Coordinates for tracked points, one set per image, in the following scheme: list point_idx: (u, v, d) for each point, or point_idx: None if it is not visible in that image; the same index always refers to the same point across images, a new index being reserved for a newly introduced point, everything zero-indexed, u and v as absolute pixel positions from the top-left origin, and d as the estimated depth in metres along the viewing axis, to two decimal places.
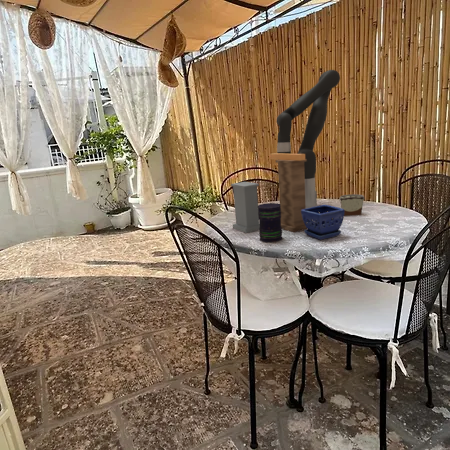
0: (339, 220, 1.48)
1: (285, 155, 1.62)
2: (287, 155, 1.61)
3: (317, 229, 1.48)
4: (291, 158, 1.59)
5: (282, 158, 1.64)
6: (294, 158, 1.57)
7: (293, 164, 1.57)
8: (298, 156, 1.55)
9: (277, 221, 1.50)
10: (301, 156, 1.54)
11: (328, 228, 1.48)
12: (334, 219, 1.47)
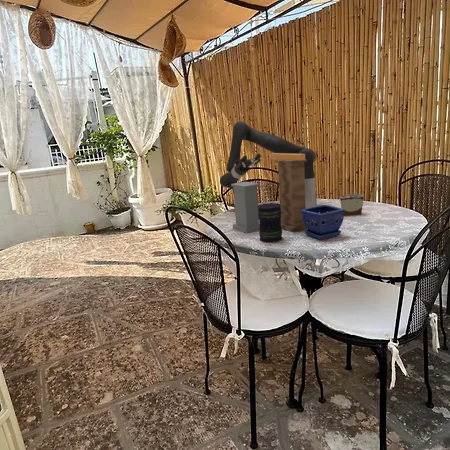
0: (339, 220, 1.48)
1: (285, 155, 1.62)
2: (287, 155, 1.61)
3: (317, 229, 1.48)
4: (291, 158, 1.59)
5: (282, 158, 1.64)
6: (294, 158, 1.57)
7: (293, 164, 1.57)
8: (298, 156, 1.55)
9: (277, 221, 1.50)
10: (301, 156, 1.54)
11: (328, 228, 1.48)
12: (334, 219, 1.47)
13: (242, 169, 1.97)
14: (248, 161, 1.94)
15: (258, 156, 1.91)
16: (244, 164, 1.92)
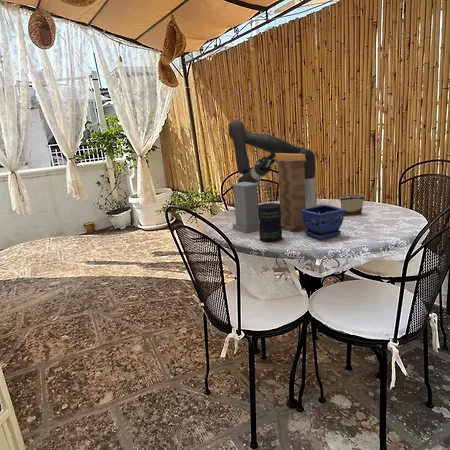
0: (339, 220, 1.48)
1: (285, 155, 1.62)
2: (287, 155, 1.61)
3: (317, 229, 1.48)
4: (291, 158, 1.59)
5: (282, 158, 1.64)
6: (294, 158, 1.57)
7: (293, 164, 1.57)
8: (298, 156, 1.55)
9: (277, 221, 1.50)
10: (301, 156, 1.54)
11: (328, 228, 1.48)
12: (334, 219, 1.47)
13: (263, 169, 1.79)
14: (270, 160, 1.76)
15: None
16: (269, 163, 1.74)
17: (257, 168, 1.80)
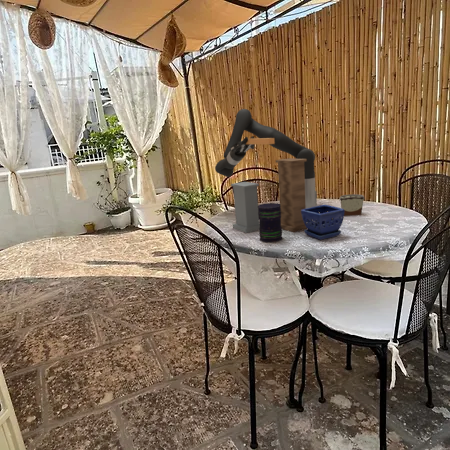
0: (339, 220, 1.48)
1: (256, 139, 1.68)
2: (258, 139, 1.67)
3: (317, 229, 1.48)
4: (261, 142, 1.65)
5: (254, 143, 1.70)
6: (264, 142, 1.63)
7: (293, 164, 1.57)
8: (267, 140, 1.61)
9: (277, 221, 1.50)
10: (270, 140, 1.60)
11: (328, 228, 1.48)
12: (334, 219, 1.47)
13: (238, 154, 1.85)
14: (244, 145, 1.82)
15: None
16: (243, 148, 1.80)
17: (232, 153, 1.86)
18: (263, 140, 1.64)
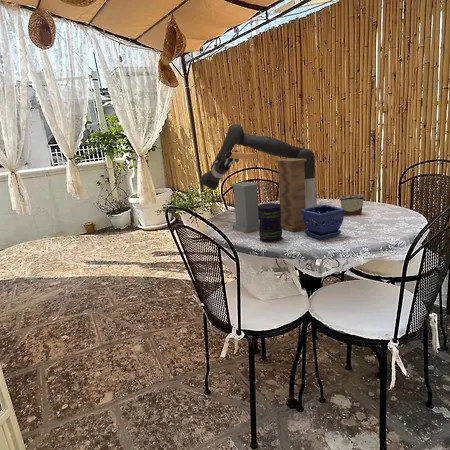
0: (339, 220, 1.48)
1: (240, 154, 1.65)
2: (241, 154, 1.64)
3: (317, 229, 1.48)
4: (244, 157, 1.62)
5: (237, 157, 1.68)
6: (247, 157, 1.61)
7: (293, 164, 1.57)
8: (250, 155, 1.58)
9: (277, 221, 1.50)
10: (253, 155, 1.58)
11: (328, 228, 1.48)
12: (334, 219, 1.47)
13: (222, 168, 1.82)
14: (228, 159, 1.79)
15: None
16: (227, 161, 1.77)
17: (216, 166, 1.83)
18: (246, 155, 1.61)
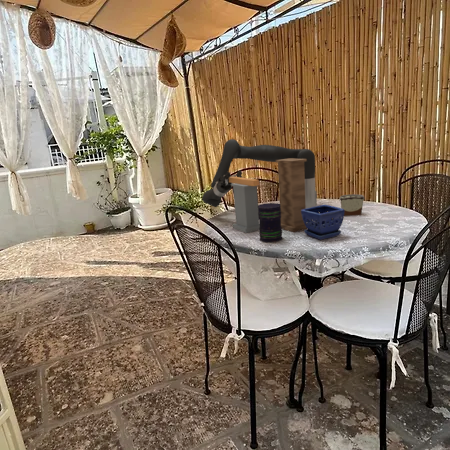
0: (339, 220, 1.48)
1: (241, 180, 1.69)
2: (243, 180, 1.67)
3: (317, 229, 1.48)
4: (246, 183, 1.65)
5: (239, 182, 1.71)
6: (249, 183, 1.64)
7: (293, 164, 1.57)
8: (252, 182, 1.61)
9: (277, 221, 1.50)
10: (255, 182, 1.61)
11: (328, 228, 1.48)
12: (334, 219, 1.47)
13: (224, 187, 1.85)
14: None
15: (239, 173, 1.78)
16: (227, 182, 1.79)
17: (218, 186, 1.86)
18: (248, 181, 1.64)
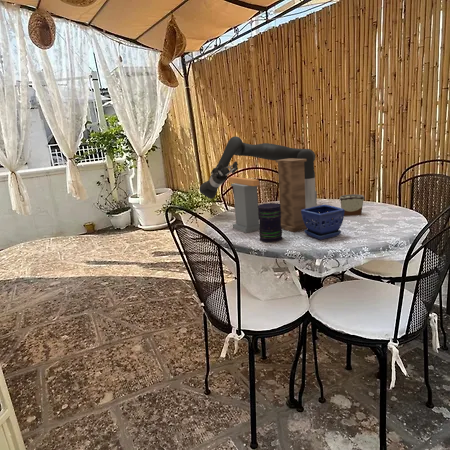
0: (339, 220, 1.48)
1: (241, 180, 1.69)
2: (243, 180, 1.67)
3: (317, 229, 1.48)
4: (246, 183, 1.65)
5: (239, 182, 1.71)
6: (249, 183, 1.64)
7: (293, 164, 1.57)
8: (252, 182, 1.61)
9: (277, 221, 1.50)
10: (255, 182, 1.61)
11: (328, 228, 1.48)
12: (334, 219, 1.47)
13: (220, 178, 1.95)
14: (225, 169, 1.91)
15: (235, 164, 1.89)
16: (221, 173, 1.89)
17: (214, 177, 1.95)
18: (248, 181, 1.64)
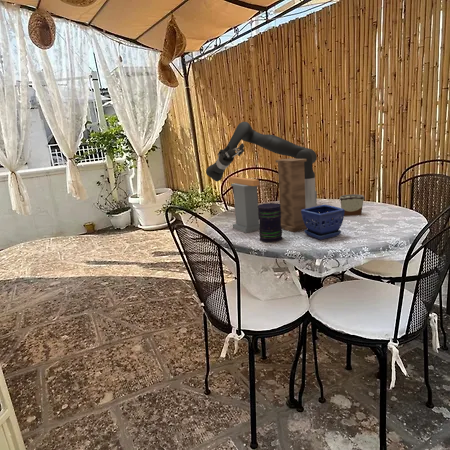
0: (339, 220, 1.48)
1: (241, 180, 1.69)
2: (243, 180, 1.67)
3: (317, 229, 1.48)
4: (246, 183, 1.65)
5: (239, 182, 1.71)
6: (249, 183, 1.64)
7: (293, 164, 1.57)
8: (252, 182, 1.61)
9: (277, 221, 1.50)
10: (255, 182, 1.61)
11: (328, 228, 1.48)
12: (334, 219, 1.47)
13: (226, 159, 1.99)
14: (232, 151, 1.95)
15: (241, 146, 1.92)
16: (228, 154, 1.93)
17: (221, 158, 1.99)
18: (248, 181, 1.64)
